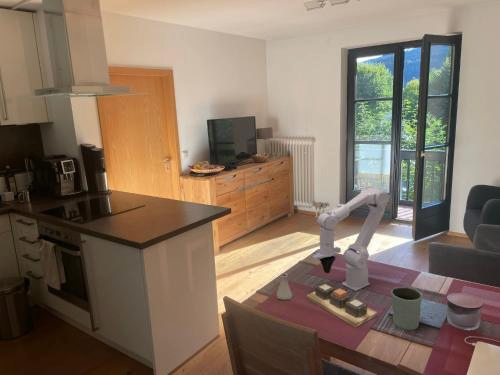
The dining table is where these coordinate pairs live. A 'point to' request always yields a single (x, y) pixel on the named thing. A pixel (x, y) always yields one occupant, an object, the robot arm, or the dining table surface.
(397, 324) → the green cylindrical pot
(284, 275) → the flask
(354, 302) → the grey button
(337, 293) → the terracotta button
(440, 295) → the dining table surface
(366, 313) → the button panel
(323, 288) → the offwhite button
